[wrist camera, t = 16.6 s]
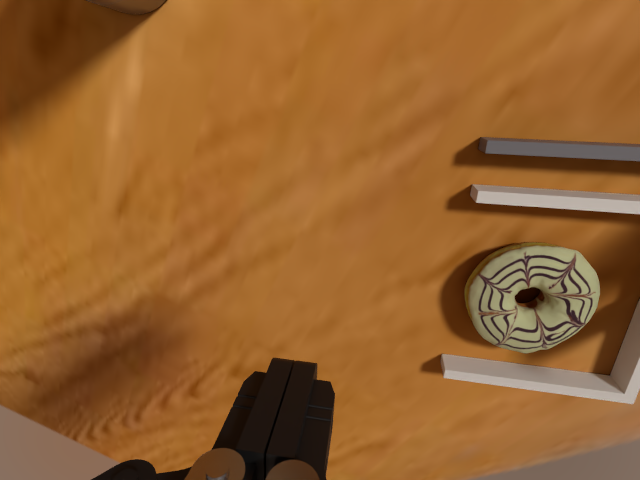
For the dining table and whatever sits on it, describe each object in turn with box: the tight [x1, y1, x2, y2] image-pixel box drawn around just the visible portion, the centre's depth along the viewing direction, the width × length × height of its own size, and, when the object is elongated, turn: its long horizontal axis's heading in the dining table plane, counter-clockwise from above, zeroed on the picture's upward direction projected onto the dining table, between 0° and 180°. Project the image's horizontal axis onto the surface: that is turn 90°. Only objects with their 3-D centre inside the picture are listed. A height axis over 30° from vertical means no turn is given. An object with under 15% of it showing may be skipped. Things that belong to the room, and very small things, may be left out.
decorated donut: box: [465, 242, 600, 353], centre depth 34 cm, size 10×11×4 cm
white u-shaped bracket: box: [440, 184, 640, 404], centre depth 29 cm, size 18×19×12 cm
